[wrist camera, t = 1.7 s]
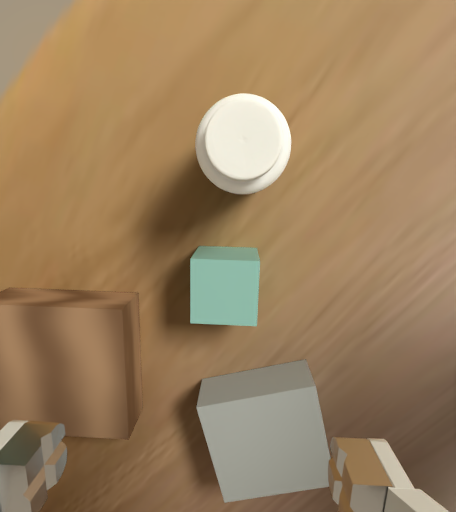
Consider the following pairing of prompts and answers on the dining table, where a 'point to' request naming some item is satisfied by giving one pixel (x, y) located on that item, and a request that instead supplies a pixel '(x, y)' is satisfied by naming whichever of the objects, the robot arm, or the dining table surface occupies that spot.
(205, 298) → the teal cube
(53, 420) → the walnut block
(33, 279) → the dining table surface
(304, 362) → the slate block
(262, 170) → the supplement bottle
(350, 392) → the dining table surface
